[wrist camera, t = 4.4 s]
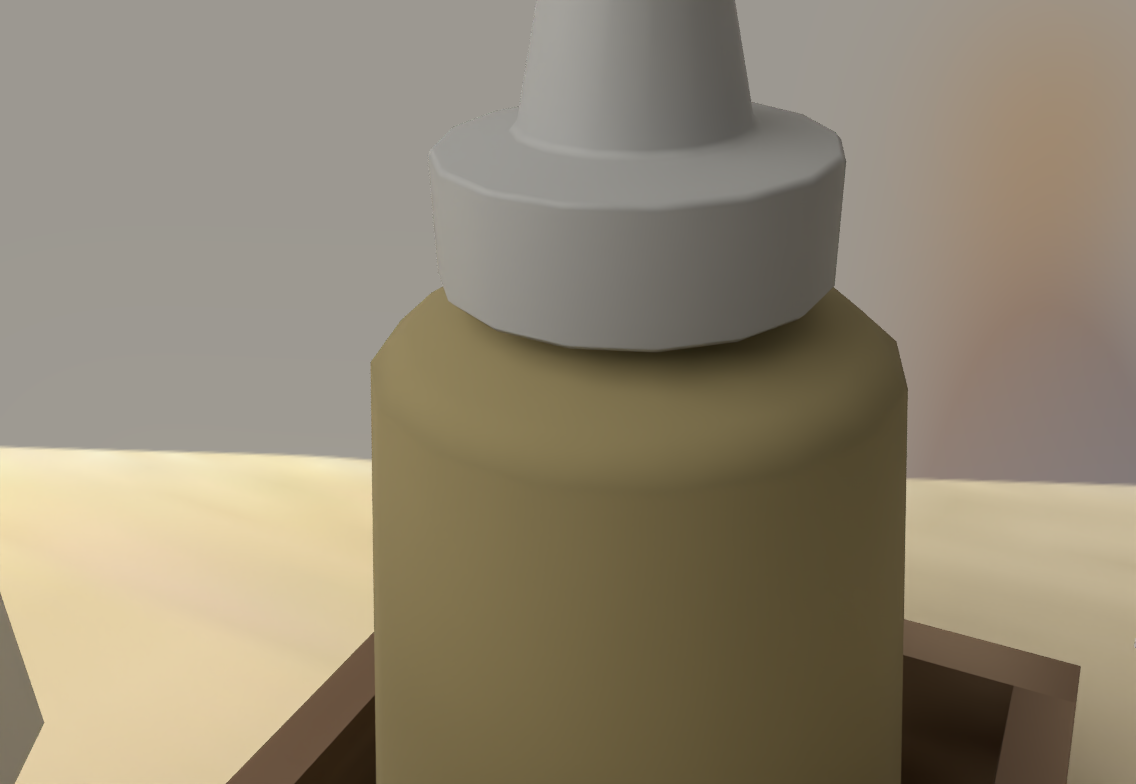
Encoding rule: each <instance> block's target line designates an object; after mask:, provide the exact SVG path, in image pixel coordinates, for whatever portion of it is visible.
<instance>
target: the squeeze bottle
mask: <svg viewBox="0 0 1136 784" xmlns="http://www.w3.org/2000/svg"><path fill="white" fill-rule="evenodd" d="M428 165H429V176H430V188H431V199H432V210H433V221H434V233H435V244H436V256H437V266H438V274H439V276H440V279H441V282H442V284H443V287H441V288H439V289H438V290H436V291H434V292H432V293H431V294H430V295H429V296H427V297H426V298H425V299H424V300H423V301H422V302H421V303H420V304H418V306H416V307H415V308H414V309H413V310H412V311H411V312H410V313H409V314H408V315H406V316H405V317H404V318H403V319H402V320H401V321H400V322H399V324H398V325H397V327H396V328H395V329H394V331H393V332H392V333H391V335H390V336H389V338H388V339H387V340H386V342H385V343H384V345H383V346H382V347H381V349H380V350H379V352H378V353H377V354H376V356H375V357H374V358H373V360H372V361H371V422H372V423H371V424H372V425H371V427H372V503H373V579H374V655H375V731H376V784H901V747H902V690H903V632H904V574H905V516H906V458H907V401H908V388H907V384H906V379H905V375H904V371H903V367H902V363H901V359H900V355H899V351H898V346H897V343H896V341H895V340H894V339H893V338H892V337H891V336H890V335H888V334H887V333H886V332H885V331H884V330H883V329H882V328H881V327H880V326H878V325H877V324H876V323H875V322H874V321H873V320H872V319H870V318H869V317H868V316H867V315H866V314H865V313H864V312H863V311H862V310H860V309H859V308H858V307H857V306H856V305H854V304H853V303H852V302H851V301H850V300H848V299H847V298H846V297H845V296H844V295H842V294H841V293H840V292H839V291H838V290H836V289H835V288H834V285H835V275H836V264H837V253H838V243H839V232H840V221H841V211H842V200H843V189H844V178H845V167H846V159H845V155H844V150H843V146H842V142H841V139H840V137H839V136H838V135H837V134H836V132H834V131H832V130H831V129H829V128H827V127H825V126H823V125H821V124H820V123H818V122H816V121H814V120H812V119H810V118H808V117H807V116H805V115H803V114H799V113H795V112H791V111H787V110H783V109H778V108H775V107H770V106H766V105H762V104H758V103H754V102H751V98H750V91H749V86H748V79H747V73H746V66H745V60H744V55H743V49H742V42H741V36H740V29H739V23H738V17H737V10H736V4H735V0H536V6H535V13H534V18H533V25H532V31H531V37H530V43H529V50H528V55H527V62H526V68H525V74H524V80H523V86H522V92H521V98H520V104H519V106H518V107H514V108H508V109H503V110H497V111H494V112H491V113H489V114H486V115H483V116H481V117H478V118H475V119H473V120H470V121H467V122H465V123H462V124H459V125H457V126H454V127H453V128H452V129H451V130H450V131H449V132H448V133H447V134H446V135H445V136H444V137H442V138H441V139H440V141H438V143H436V144H435V145H434V147H433V148H432V149H431V150H430V152H429V153H428Z"/></svg>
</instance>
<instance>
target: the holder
mask: <svg viewBox="0 0 1136 784" xmlns="http://www.w3.org/2000/svg"><path fill="white" fill-rule="evenodd" d="M1080 668H1081V666H1078V665H1074V664H1070V663H1066V662H1063V661H1059V660H1055V659H1051V658H1048V657H1044V656H1040V655H1036V654H1033V653H1029V652H1025V651H1021V650H1018V649H1014V648H1010V647H1006V646H1003V645H999V644H995V643H991V642H987V641H984V640H980V639H976V638H972V637H969V636H965V635H961V634H957V633H954V632H950V631H946V630H942V629H939V628H935V627H931V626H927V625H924V624H920V623H916V622H912V621H908V620H905V619H904V632H903V690H902V747H901V784H1066V783H1067V775H1068V767H1069V758H1070V750H1071V742H1072V734H1073V725H1074V717H1075V709H1076V701H1077V692H1078V684H1079V676H1080ZM226 784H376V731H375V655H374V632H373V633H372V634H371V635H370V636H369V638H368V639H367V640H366V641H365V642H364V643H363V644H362V645H361V646H360V647H359V648H358V649H357V650H356V651H355V652H354V653H353V654H352V655H351V656H350V657H349V658H348V659H347V660H346V661H345V662H344V663H343V664H342V665H341V666H340V667H339V668H338V669H337V670H336V671H335V672H334V673H333V674H332V675H331V676H330V677H329V679H328V680H327V681H326V682H325V683H324V684H323V685H322V686H321V687H320V688H319V689H318V690H317V691H316V692H315V693H314V694H313V695H312V696H311V697H310V698H309V699H308V700H307V701H306V702H305V703H304V704H303V705H302V706H301V707H300V708H299V709H298V710H297V711H296V712H295V713H294V714H293V715H292V716H291V717H290V719H289V720H288V721H287V722H286V723H285V724H284V725H283V726H282V727H281V728H280V729H279V730H278V731H277V732H276V733H275V734H274V735H273V736H272V737H271V738H270V739H269V740H268V741H267V742H266V743H265V744H264V745H263V746H262V747H261V748H260V749H259V750H258V751H257V752H256V753H255V754H254V755H253V756H252V757H251V758H250V760H249V761H248V762H247V763H246V764H245V765H244V766H243V767H242V768H241V769H240V770H239V771H238V772H237V773H236V774H235V775H234V776H233V777H232V778H231V779H230V780H229V781H228V782H227V783H226Z"/></svg>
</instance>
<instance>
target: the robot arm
mask: <svg viewBox="0 0 1136 784" xmlns="http://www.w3.org/2000/svg"><path fill="white" fill-rule="evenodd" d="M1134 646H1135V648H1136V640H1135V643H1134ZM43 724H44V721H43V718H42V715H41V712H40V709H39V706H38V703H37V700H36V697H35V694H34V691H33V688H32V685H31V682H30V679H29V676H28V673H27V670H26V668H25V665H24V662H23V659H22V656H21V653H20V650H19V647H18V644H17V641H16V638H15V635H14V632H13V629H12V626H11V623H10V620H9V617H8V614H7V612H6V609H5V606H4V603H3V600H2V597H1V594H0V784H15V782H16V780H17V778H18V776H19V773H20V771H21V769H22V767H23V765H24V763H25V761H26V759H27V757H28V755H29V753H30V751H31V749H32V747H33V745H34V743H35V741H36V738H37V736H38V734H39V732H40V730H41V728H42V726H43Z"/></svg>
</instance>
